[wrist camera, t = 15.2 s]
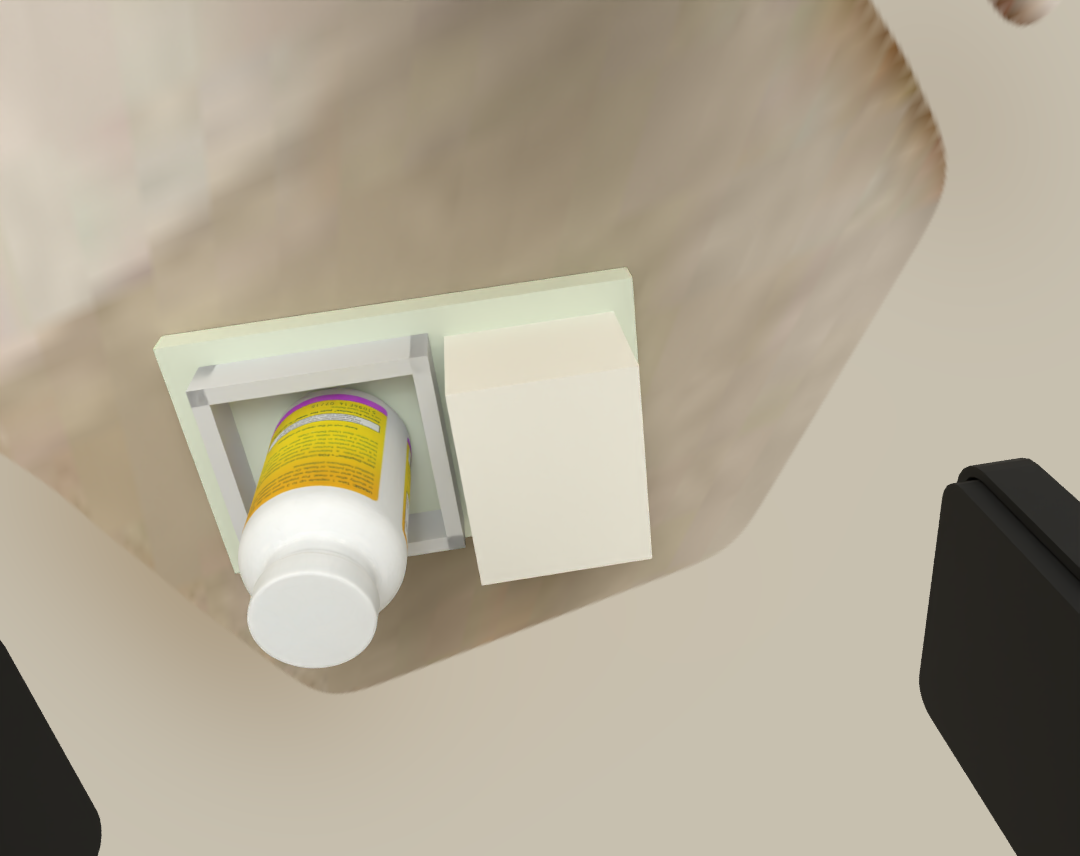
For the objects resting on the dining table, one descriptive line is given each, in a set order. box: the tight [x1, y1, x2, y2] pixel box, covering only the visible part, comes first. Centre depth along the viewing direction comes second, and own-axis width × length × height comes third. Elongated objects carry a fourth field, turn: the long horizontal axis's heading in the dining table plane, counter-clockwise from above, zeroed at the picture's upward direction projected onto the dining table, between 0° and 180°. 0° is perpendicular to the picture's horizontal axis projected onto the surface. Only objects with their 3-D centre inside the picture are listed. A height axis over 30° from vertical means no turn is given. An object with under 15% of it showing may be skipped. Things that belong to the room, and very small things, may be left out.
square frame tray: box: [153, 267, 652, 585], centre depth 42 cm, size 22×13×8 cm, turn 97°
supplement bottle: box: [238, 388, 412, 668], centre depth 38 cm, size 7×7×13 cm
